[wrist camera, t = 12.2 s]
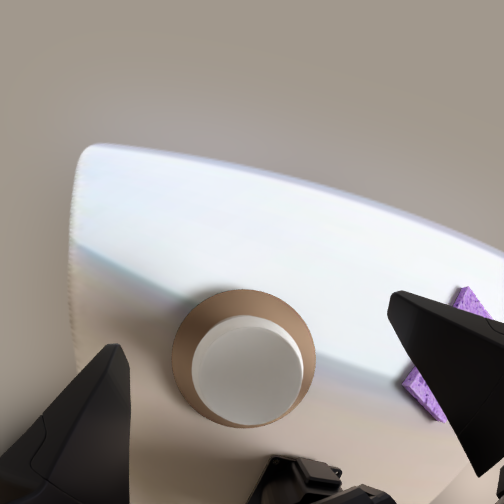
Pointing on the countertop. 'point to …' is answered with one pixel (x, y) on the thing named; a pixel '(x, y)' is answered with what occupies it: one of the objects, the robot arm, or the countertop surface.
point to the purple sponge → (414, 379)
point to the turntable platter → (225, 309)
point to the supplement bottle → (247, 370)
